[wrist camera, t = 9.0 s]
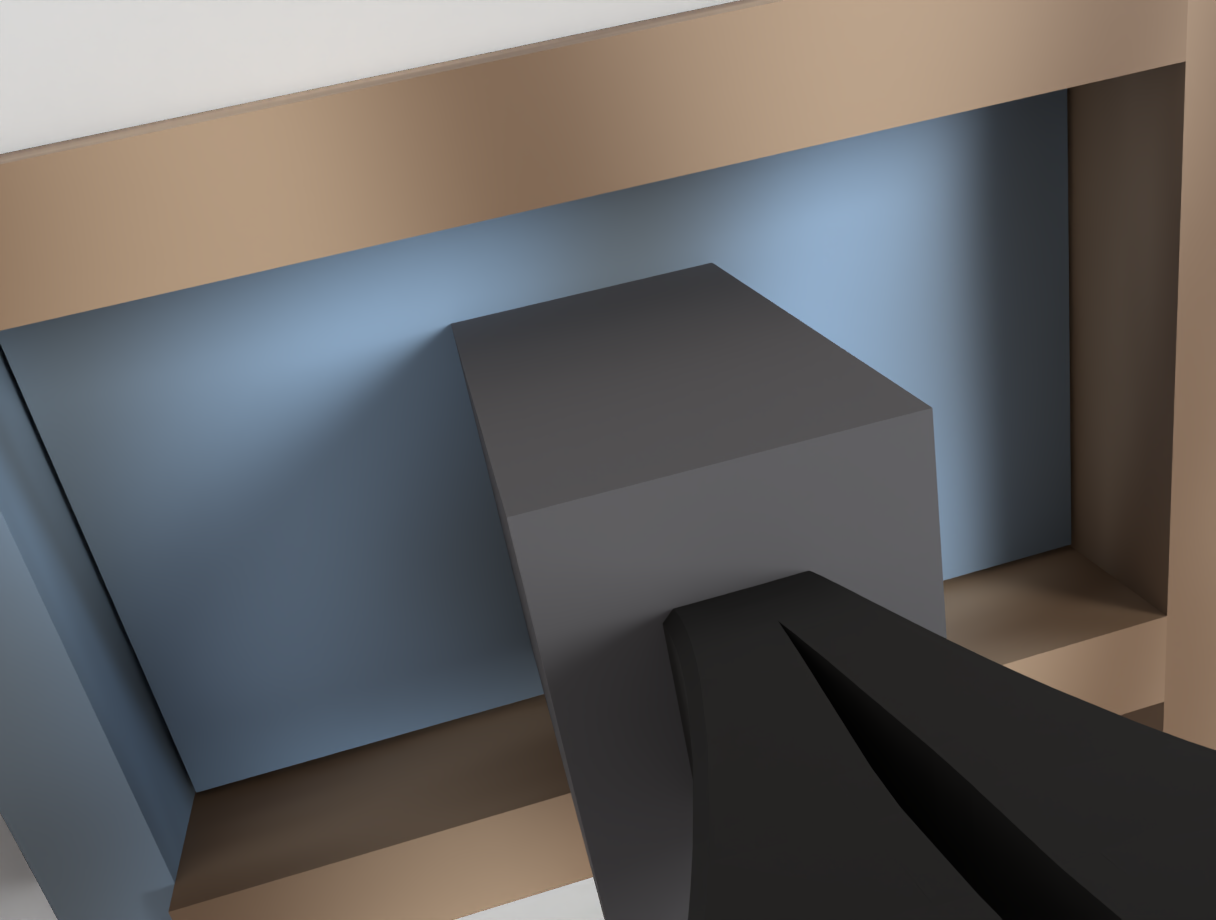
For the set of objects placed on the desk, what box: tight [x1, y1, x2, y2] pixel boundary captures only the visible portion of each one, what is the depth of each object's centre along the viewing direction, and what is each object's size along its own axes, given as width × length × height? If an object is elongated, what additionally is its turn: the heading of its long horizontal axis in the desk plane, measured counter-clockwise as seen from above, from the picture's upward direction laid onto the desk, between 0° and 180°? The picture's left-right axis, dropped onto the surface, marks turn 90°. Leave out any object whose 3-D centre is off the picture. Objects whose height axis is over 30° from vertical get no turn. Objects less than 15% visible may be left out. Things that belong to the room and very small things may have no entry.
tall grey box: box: [451, 263, 947, 920], centre depth 12 cm, size 4×5×6 cm
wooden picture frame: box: [0, 0, 1216, 920], centre depth 16 cm, size 17×20×2 cm
